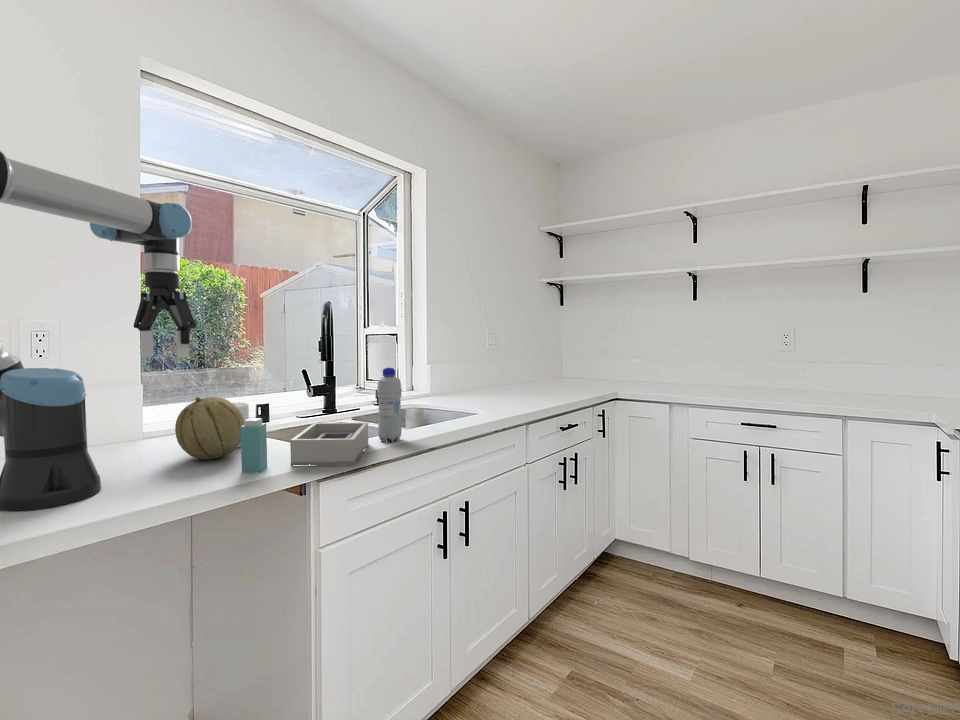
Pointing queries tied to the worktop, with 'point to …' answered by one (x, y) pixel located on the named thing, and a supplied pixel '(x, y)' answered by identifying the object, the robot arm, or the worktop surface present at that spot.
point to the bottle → (389, 406)
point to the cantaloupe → (209, 428)
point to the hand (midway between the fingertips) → (164, 357)
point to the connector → (253, 446)
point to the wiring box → (329, 444)
